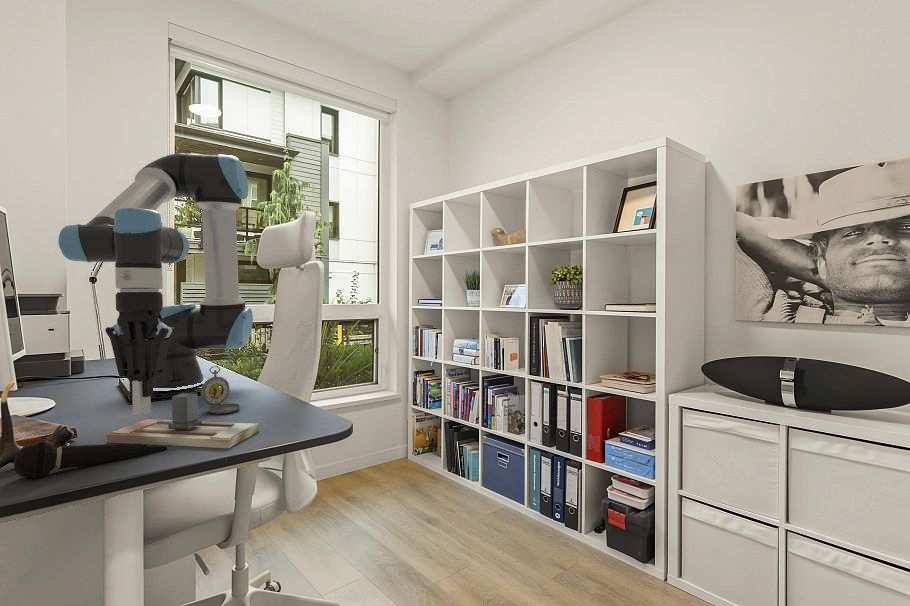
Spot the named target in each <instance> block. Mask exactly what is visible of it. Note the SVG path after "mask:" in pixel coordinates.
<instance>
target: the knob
mask: <svg viewBox="0 0 910 606" xmlns="http://www.w3.org/2000/svg"><path fill="white" fill-rule="evenodd" d="M171 401H172V402H171V404H172V405H171V406H172V407H171V408H172V409H171V410H172V411H171V412H172V414H171V415H172V420H173V422H171V423H169V424H168V429H180V430H189V429H191V428H193V427H196V426H198V425H200V424H202V422H203V418H199V410H198V408H199V405H198V393H189V392H186V393H185V392H182V393H179V394H176V395H172V397H171Z"/></svg>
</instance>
